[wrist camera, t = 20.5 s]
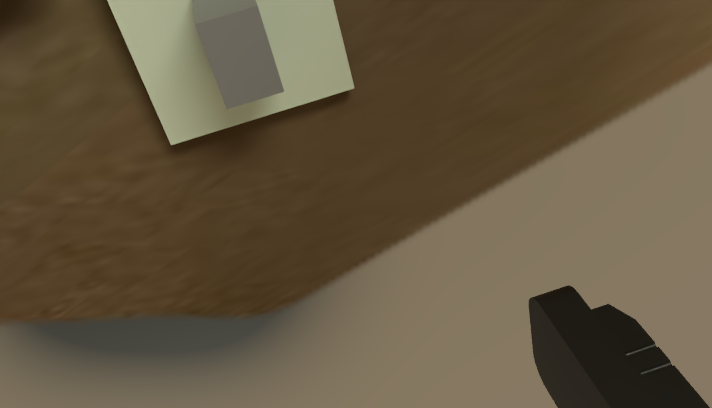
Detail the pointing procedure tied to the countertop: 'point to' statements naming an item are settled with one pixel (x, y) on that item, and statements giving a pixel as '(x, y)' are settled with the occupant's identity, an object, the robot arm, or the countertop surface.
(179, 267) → the countertop surface
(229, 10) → the snap lid
